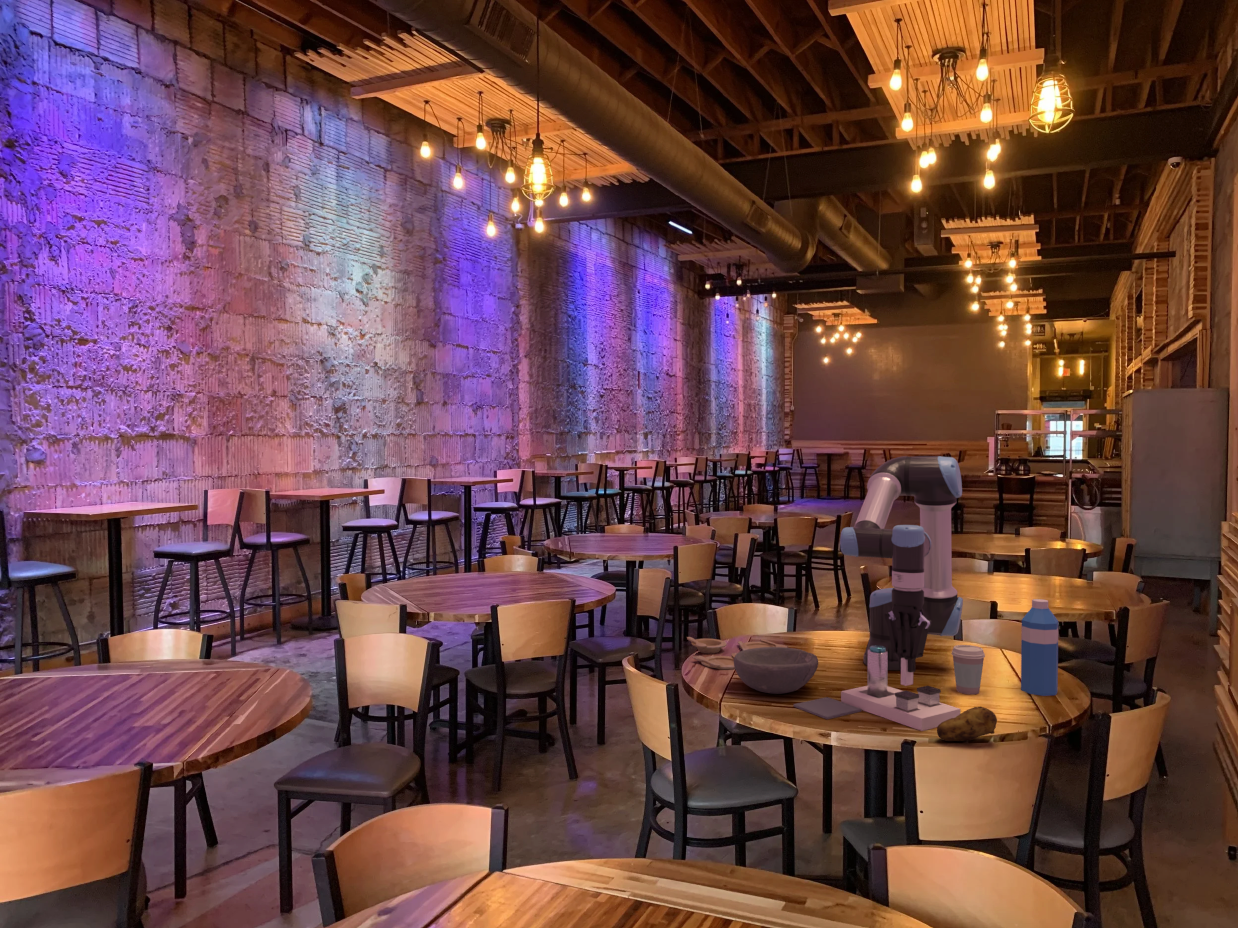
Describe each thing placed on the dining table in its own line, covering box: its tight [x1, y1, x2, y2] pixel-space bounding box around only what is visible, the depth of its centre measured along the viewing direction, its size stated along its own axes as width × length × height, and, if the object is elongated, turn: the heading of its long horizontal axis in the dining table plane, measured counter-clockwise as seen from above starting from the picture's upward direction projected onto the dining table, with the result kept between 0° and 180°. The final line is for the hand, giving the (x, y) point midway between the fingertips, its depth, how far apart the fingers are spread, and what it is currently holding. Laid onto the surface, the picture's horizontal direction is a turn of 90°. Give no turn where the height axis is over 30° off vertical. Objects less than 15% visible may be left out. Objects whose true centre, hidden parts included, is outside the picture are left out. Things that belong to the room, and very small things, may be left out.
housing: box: [840, 685, 961, 732], centre depth 219 cm, size 26×14×3 cm, turn 31°
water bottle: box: [1020, 598, 1059, 697], centre depth 236 cm, size 9×9×25 cm
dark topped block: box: [916, 685, 942, 705], centre depth 216 cm, size 4×4×3 cm
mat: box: [793, 696, 862, 720], centre depth 221 cm, size 12×12×1 cm
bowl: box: [734, 647, 819, 695], centre depth 238 cm, size 23×22×10 cm
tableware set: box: [686, 636, 789, 670], centre depth 276 cm, size 35×29×4 cm
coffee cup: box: [951, 644, 986, 695], centre depth 236 cm, size 8×9×12 cm
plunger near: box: [895, 690, 919, 710], centre depth 212 cm, size 4×4×3 cm
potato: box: [936, 706, 998, 742], centre depth 197 cm, size 8×13×8 cm, turn 71°
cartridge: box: [866, 645, 889, 698], centre depth 225 cm, size 5×5×15 cm
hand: (906, 684), depth 211 cm, fingers closed
